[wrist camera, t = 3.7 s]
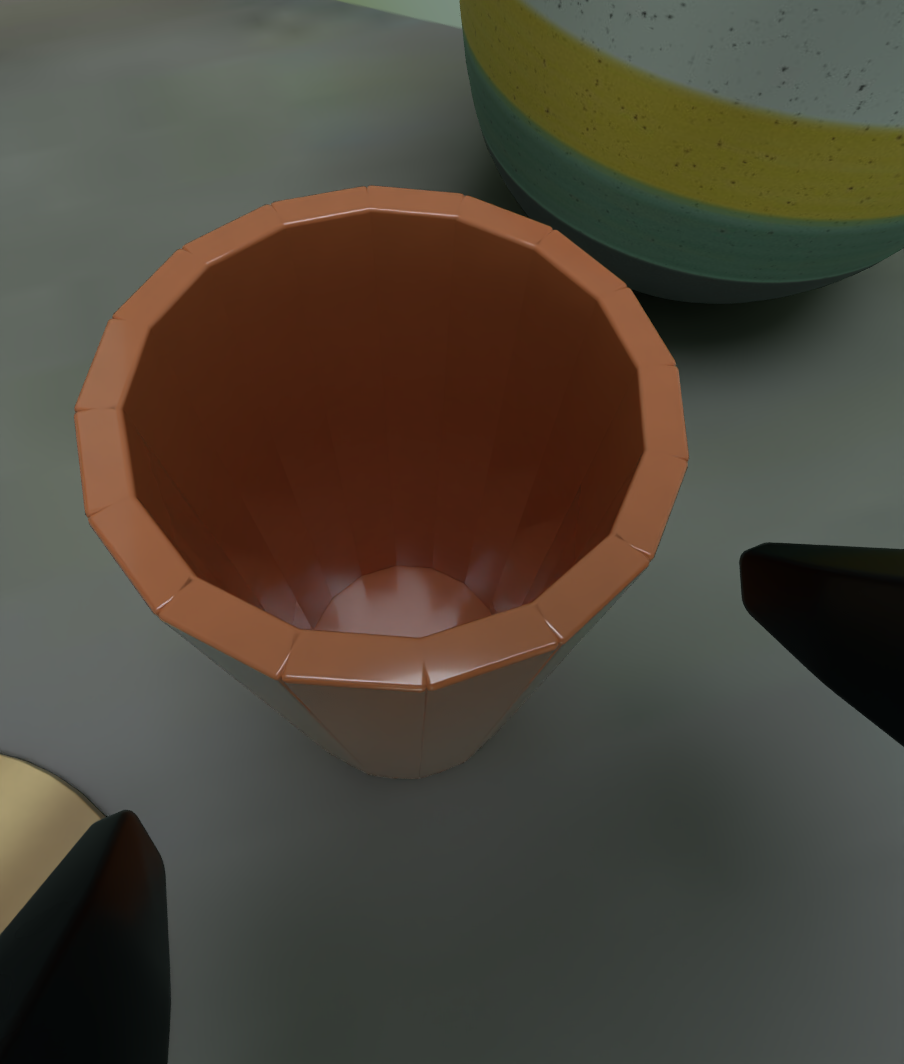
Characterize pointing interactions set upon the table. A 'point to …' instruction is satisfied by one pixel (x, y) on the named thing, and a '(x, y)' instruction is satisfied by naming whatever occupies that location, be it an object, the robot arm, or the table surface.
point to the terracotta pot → (383, 460)
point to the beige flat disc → (35, 829)
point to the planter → (700, 135)
